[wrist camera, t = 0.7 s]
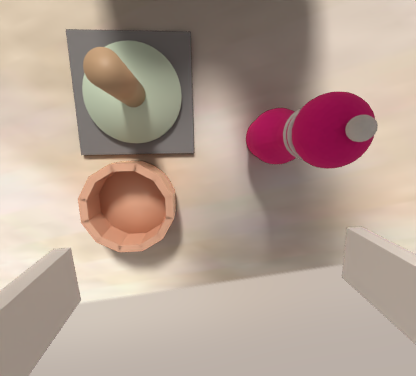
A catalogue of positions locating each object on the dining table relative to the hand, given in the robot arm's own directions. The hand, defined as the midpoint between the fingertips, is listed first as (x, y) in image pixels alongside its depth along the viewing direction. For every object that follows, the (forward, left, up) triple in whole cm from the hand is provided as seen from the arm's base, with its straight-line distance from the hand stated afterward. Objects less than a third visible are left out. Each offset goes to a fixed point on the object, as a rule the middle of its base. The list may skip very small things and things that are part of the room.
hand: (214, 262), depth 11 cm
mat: (-13, -9, -24) cm, 28 cm away
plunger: (-13, -9, -23) cm, 28 cm away
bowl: (+2, -10, -24) cm, 26 cm away
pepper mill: (-7, +10, -24) cm, 27 cm away
